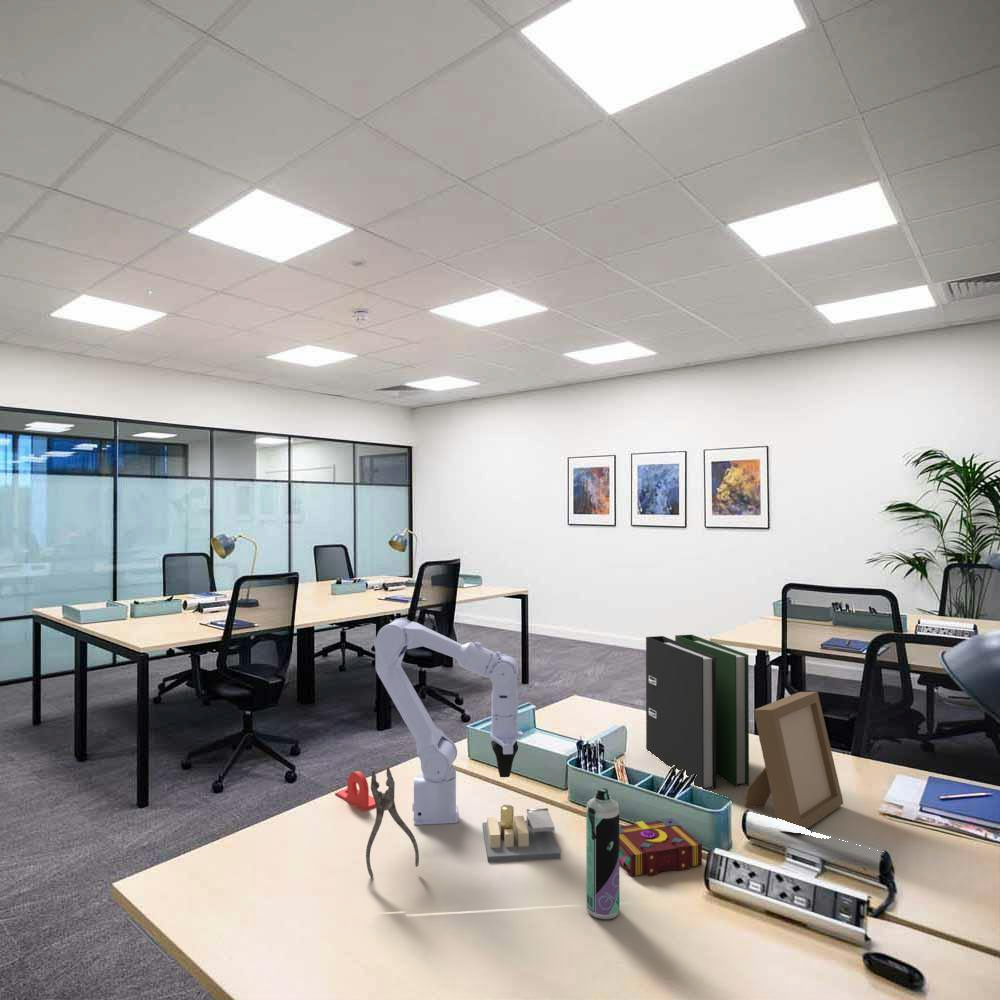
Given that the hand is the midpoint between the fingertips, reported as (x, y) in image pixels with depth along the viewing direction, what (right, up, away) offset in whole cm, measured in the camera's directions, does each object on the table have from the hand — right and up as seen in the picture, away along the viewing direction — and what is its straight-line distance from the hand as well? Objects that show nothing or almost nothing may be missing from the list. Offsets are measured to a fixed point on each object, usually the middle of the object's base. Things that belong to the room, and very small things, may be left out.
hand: (504, 776), depth 145 cm
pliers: (-21, -10, -22) cm, 32 cm away
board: (+3, -9, -10) cm, 14 cm away
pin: (0, -8, -10) cm, 13 cm away
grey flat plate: (+7, -6, -8) cm, 12 cm away
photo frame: (+63, -10, +4) cm, 64 cm away
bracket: (-34, -10, +9) cm, 36 cm away
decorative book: (+28, -10, -16) cm, 34 cm away
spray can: (+16, -9, -33) cm, 38 cm away
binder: (+49, -10, +28) cm, 58 cm away
